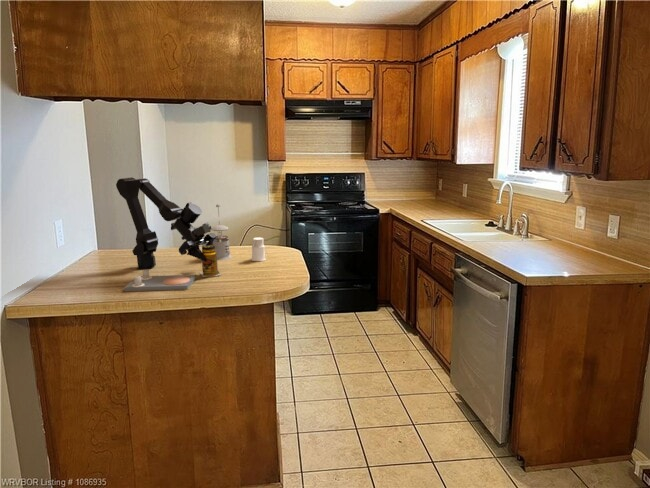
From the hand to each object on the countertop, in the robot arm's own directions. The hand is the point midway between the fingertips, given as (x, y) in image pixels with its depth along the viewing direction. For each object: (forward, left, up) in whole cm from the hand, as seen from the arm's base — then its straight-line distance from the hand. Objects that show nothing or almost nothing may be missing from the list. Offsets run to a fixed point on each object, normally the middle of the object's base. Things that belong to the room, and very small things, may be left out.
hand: (211, 258), depth 193 cm
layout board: (-17, -11, -7) cm, 22 cm away
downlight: (+17, +23, -7) cm, 29 cm away
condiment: (-1, +1, -7) cm, 7 cm away
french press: (-1, +30, -7) cm, 31 cm away
